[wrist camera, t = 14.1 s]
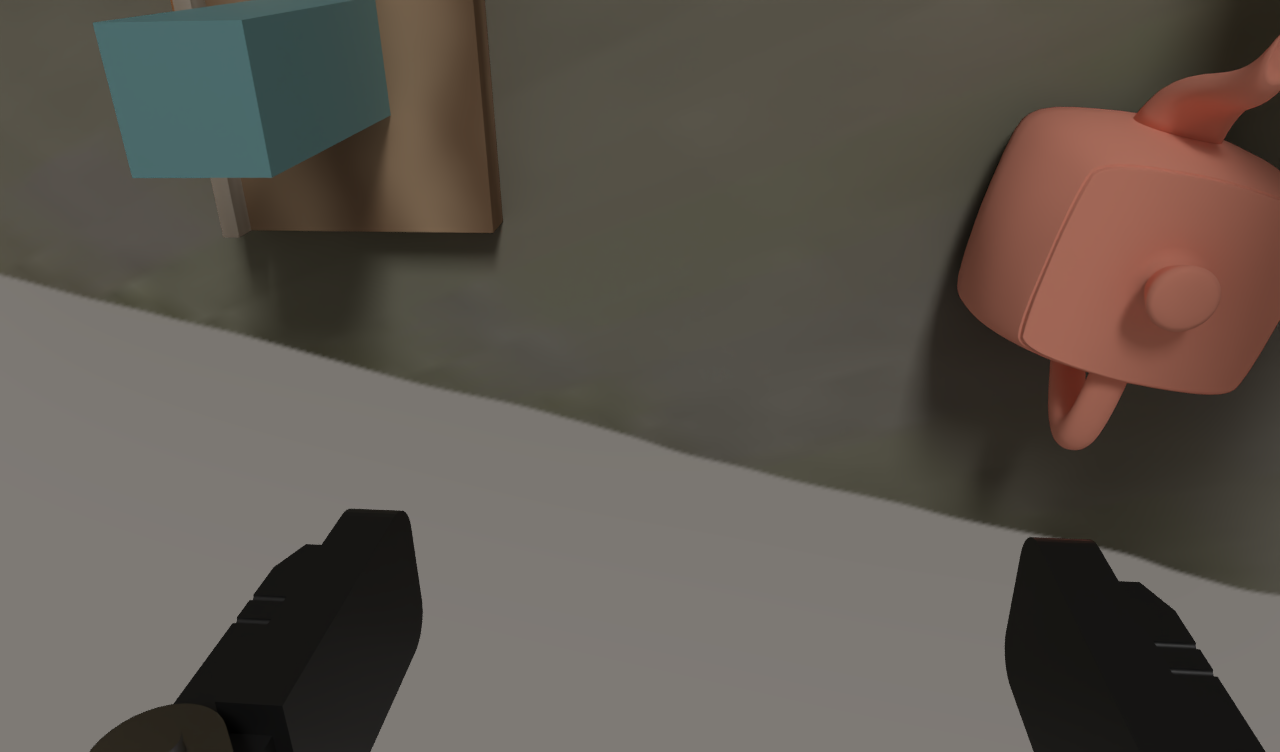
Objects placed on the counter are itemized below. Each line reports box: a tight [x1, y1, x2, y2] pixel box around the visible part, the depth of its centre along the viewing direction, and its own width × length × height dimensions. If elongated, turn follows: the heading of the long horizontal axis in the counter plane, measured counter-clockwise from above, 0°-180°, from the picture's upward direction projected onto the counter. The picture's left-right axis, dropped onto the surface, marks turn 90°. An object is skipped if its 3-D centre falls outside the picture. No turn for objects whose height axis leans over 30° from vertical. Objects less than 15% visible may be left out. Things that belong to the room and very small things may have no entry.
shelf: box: [171, 0, 503, 238], centre depth 42 cm, size 13×16×3 cm
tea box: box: [93, 0, 391, 178], centre depth 36 cm, size 5×5×12 cm
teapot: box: [957, 35, 1280, 450], centre depth 39 cm, size 12×18×10 cm, turn 168°
